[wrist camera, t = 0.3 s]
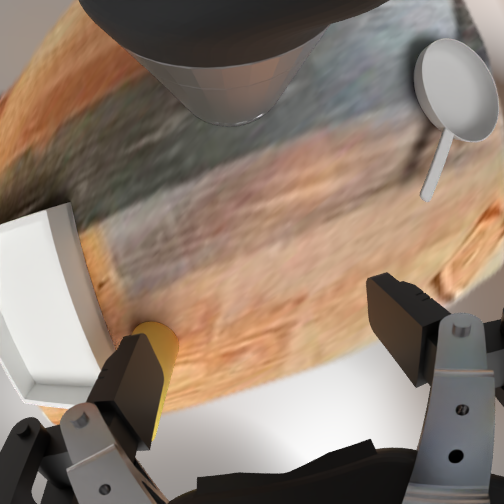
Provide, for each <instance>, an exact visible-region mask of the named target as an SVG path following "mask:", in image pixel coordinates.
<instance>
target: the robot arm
mask: <svg viewBox="0 0 504 504" xmlns="http://www.w3.org/2000/svg"><path fill="white" fill-rule="evenodd" d="M387 1H389V0H79V2H80V4H81V6H82V7H83V9H84V11H85V12H86V13H87V14H88V15H89V16H90V18H91V19H92V20H93V21H94V22H95V23H96V24H97V25H98V26H99V27H100V28H102V29H103V30H104V31H105V32H106V33H107V34H108V35H109V36H111V37H112V38H113V39H114V40H115V41H116V42H118V43H119V45H121V46H122V47H123V48H124V49H125V50H126V51H127V52H128V53H129V54H131V55H132V56H133V57H134V58H135V59H136V60H137V61H138V62H139V63H140V64H141V65H142V66H144V67H145V68H146V69H147V70H148V71H149V72H150V73H151V74H153V75H154V76H155V77H156V78H157V79H158V80H159V81H160V82H161V83H162V84H163V85H164V86H165V87H166V88H167V89H168V90H169V91H170V92H171V93H172V94H173V95H174V96H175V97H176V98H177V99H178V100H179V101H180V102H181V103H182V104H183V105H184V106H185V107H187V108H188V109H189V110H190V111H191V112H192V113H193V114H194V115H195V116H197V117H198V118H200V119H202V120H203V121H205V122H208V123H211V124H214V125H219V126H226V127H229V126H240V125H244V124H248V123H251V122H253V121H255V120H257V119H259V118H261V117H262V116H263V115H265V114H266V113H267V112H269V111H270V109H271V108H272V107H273V106H274V105H275V104H276V102H277V101H278V99H279V98H280V96H281V95H282V94H283V92H284V91H285V89H286V88H287V86H288V85H289V83H290V82H291V80H292V79H293V77H294V76H295V74H296V73H297V71H298V70H299V69H300V67H301V66H302V64H303V63H304V61H305V60H306V58H307V57H308V56H309V54H310V53H311V51H312V50H313V48H314V47H315V46H316V44H317V43H318V41H319V40H320V38H321V37H322V35H323V34H324V33H325V31H326V30H327V28H328V27H329V26H330V24H332V23H335V22H339V21H342V20H345V19H348V18H352V17H355V16H357V15H360V14H363V13H365V12H368V11H370V10H372V9H374V8H376V7H378V6H380V5H382V4H384V3H385V2H387ZM366 288H367V301H368V316H369V322H370V325H371V328H372V330H373V332H374V333H375V334H376V336H377V337H378V338H379V340H380V341H381V342H382V344H383V345H384V346H385V347H386V349H387V350H388V351H389V353H390V354H391V355H392V357H393V358H394V359H395V361H396V362H397V363H398V364H399V366H400V367H401V368H402V370H403V371H404V373H405V374H406V375H407V377H408V378H409V379H410V381H411V382H412V383H413V385H414V386H415V387H416V388H417V387H419V386H421V385H424V384H426V383H428V384H429V385H430V386H431V388H430V393H429V398H428V404H427V408H426V413H425V418H424V422H423V427H422V431H421V435H420V439H419V443H418V446H417V450H413V449H406V448H380V449H375V447H374V445H373V443H372V441H371V439H368V440H366V441H363V442H360V443H357V444H354V445H352V446H348V447H345V448H342V449H339V450H336V451H332V452H329V453H327V454H325V455H323V456H321V457H319V458H317V459H315V460H313V461H311V462H309V463H307V464H305V465H303V466H301V467H299V468H297V469H294V470H292V471H290V472H287V473H281V474H270V473H269V474H268V473H267V474H264V473H232V474H225V475H215V476H206V477H197V489H195V490H192V491H189V492H187V493H184V494H182V495H180V496H178V497H176V498H175V499H173V500H171V501H169V500H168V499H167V498H166V497H165V496H164V495H163V493H162V492H161V491H160V489H159V488H158V487H157V486H156V484H155V483H154V482H153V480H152V479H151V478H150V476H149V475H148V473H147V472H146V471H145V469H144V468H143V467H142V465H141V464H140V463H139V461H138V460H137V459H136V458H135V456H136V451H145V450H150V447H151V442H152V437H153V432H154V427H155V422H156V417H157V412H158V408H159V403H160V398H161V394H162V389H163V385H164V374H163V370H162V367H161V365H160V363H159V361H158V359H157V356H156V354H155V352H154V350H153V348H152V346H151V344H150V342H149V339H148V337H147V336H146V335H145V334H144V333H140V334H135V335H129V336H125V337H123V339H122V341H121V343H120V345H119V347H118V349H117V351H115V352H114V353H113V354H112V355H111V356H110V357H109V358H108V359H107V360H106V361H105V363H104V365H103V367H102V369H101V370H102V371H100V373H99V375H98V379H96V381H95V384H94V386H93V388H92V390H91V392H90V394H89V396H88V398H87V401H86V403H80V404H77V405H75V406H73V407H71V408H70V409H69V410H67V411H66V412H65V414H64V415H63V416H62V418H61V421H60V425H56V426H52V427H48V428H44V427H43V425H42V424H41V423H40V422H39V420H38V419H36V418H34V417H29V418H25V419H23V420H21V421H20V422H18V423H17V424H16V425H15V426H14V427H13V428H12V430H11V432H10V434H9V436H8V438H7V440H6V442H5V444H4V446H3V448H2V450H1V452H0V504H37V503H36V502H35V501H34V499H33V497H32V493H31V490H32V486H33V483H34V480H35V478H36V475H37V472H38V471H39V472H40V473H41V474H42V475H43V476H44V477H45V478H46V479H47V480H48V481H47V484H46V487H45V490H44V494H43V497H42V500H41V504H504V477H503V476H499V475H495V474H491V467H492V459H493V446H494V430H495V397H496V398H497V399H498V400H499V402H500V403H501V404H502V405H503V406H504V308H503V313H502V318H501V319H500V320H496V321H491V322H487V323H482V321H481V320H480V319H479V318H478V317H476V316H474V315H472V314H468V313H454V314H451V313H450V312H448V311H447V310H446V309H445V308H443V307H442V306H441V305H440V304H438V303H437V302H436V301H435V300H433V299H432V298H431V299H430V296H428V295H427V294H426V293H423V291H422V290H421V289H419V288H418V287H417V286H416V285H413V284H410V283H407V282H404V281H402V282H399V281H398V280H396V279H395V278H394V277H393V276H391V275H390V274H389V273H387V272H386V273H383V274H379V275H376V276H373V277H370V278H368V279H367V281H366Z"/></svg>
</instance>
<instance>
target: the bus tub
mask: <svg viewBox="0 0 504 504" xmlns="http://www.w3.org/2000/svg"><path fill="white" fill-rule="evenodd" d="M115 351H116V349H115V346H114V344H113V341H112V339H111V336H110V334H109V331H108V329H107V326H106V323H105V320H104V318H103V315H102V312H101V309H100V306H99V303H98V301H97V298H96V295H95V292H94V288H93V285H92V282H91V279H90V276H89V272H88V269H87V265H86V262H85V258H84V255H83V251H82V247H81V244H80V240H79V236H78V232H77V228H76V223H75V219H74V215H73V210H72V205H71V202H69V203H65V204H62V205H58V206H55V207H52V208H48V209H45V210H42V211H38V212H35V213H32V214H29V215H26V216H23V217H20V218H17V219H14V220H11V221H8V222H5V223H2V224H0V363H1V365H2V367H3V369H4V371H5V373H6V374H7V376H8V378H9V380H10V381H11V383H12V385H13V387H14V388H15V390H16V392H17V393H18V395H19V397H20V398H21V400H22V401H23V403H27V404H33V405H40V406H48V407H56V408H65V409H70V408H71V407H73V406H75V405H77V404H80V403H86V401H87V398H88V396H89V394H90V392H91V390H92V388H93V386H94V384H95V381H96V379H98V375H99V373H100V371H102V370H101V369H102V367H103V365H104V363H105V361H106V360H107V359H108V358H109V357H110V356H111V355H112V354H113V353H114V352H115Z"/></svg>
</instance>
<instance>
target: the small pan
mask: <svg viewBox="0 0 504 504" xmlns="http://www.w3.org/2000/svg"><path fill="white" fill-rule="evenodd" d="M414 88H415V92H416V96H417V99H418V102H419V104H420V106H421V108H422V110H423V111H424V113H425V115H426V116H427V117H428V118H429V120H430V121H431V122H432V123H433V124H434V125H435V126H436V127H437V128H438V129H439V130H440V131H442V135H441V138H440V141H439V144H438V147H437V150H436V152H435V155H434V158H433V161H432V163H431V166H430V169H429V171H428V174H427V176H426V179H425V182H424V184H423V187H422V189H421V191H420V197H421V199H422V200H424V201H425V202H429V201H430V200H431V198H432V196H433V193H434V191H435V188H436V185H437V183H438V180H439V178H440V175H441V172H442V169H443V167H444V164H445V161H446V158H447V155H448V152H449V149H450V146H451V143H452V140H453V139H457V140H461V141H465V142H479V141H483V140H484V139H486V138H487V137H488V136H489V135H490V134H491V133H492V132H493V130H494V128H495V126H496V123H497V120H498V114H499V100H498V94H497V89H496V86H495V83H494V80H493V78H492V76H491V73H490V71H489V70H488V68H487V66H486V65H485V63H484V62H483V61H482V59H481V58H480V57H479V56H478V55H477V54H476V53H475V52H474V51H473V50H472V49H471V48H470V47H468V46H467V45H465V44H464V43H462V42H459V41H457V40H454V39H449V38H444V39H439V40H436V41H435V42H433V43H431V44H430V45H428V46H427V47H426V48H425V49H424V50H423V51H422V52H421V53H420V55H419V57H418V59H417V62H416V66H415V69H414Z"/></svg>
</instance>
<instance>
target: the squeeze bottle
mask: <svg viewBox="0 0 504 504" xmlns="http://www.w3.org/2000/svg"><path fill="white" fill-rule="evenodd" d="M140 333H144V334H145V335H146V336H147V337H148V339H149V342H150V344H151V346H152V348H153V350H154V352H155V354H156V356H157V359H158V361H159V363H160V365H161V367H162V370H163V374H164V385H163V389H162V394H161V398H160V403H159V408H158V412H157V417H156V422H155V427H154V432H153V437H152V441H153V440H154V438H155V436H156V432H157V428H158V424H159V421H160V417H161V413H162V409H163V405H164V401H165V398H166V394H167V390H168V386H169V383H170V379H171V375H172V372H173V368H174V365H175V361H176V357H177V354H178V350H179V342H178V339H177V337H176V335H175V334H174V332H173V331H172V330H171V329H170V328H168V327H167V326H165V325H163V324H161V323H158V322H144V323H141V324H139V325H138V326H137V327H136V328H135V329H134V331H133V333H132V335H135V334H140Z"/></svg>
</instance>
